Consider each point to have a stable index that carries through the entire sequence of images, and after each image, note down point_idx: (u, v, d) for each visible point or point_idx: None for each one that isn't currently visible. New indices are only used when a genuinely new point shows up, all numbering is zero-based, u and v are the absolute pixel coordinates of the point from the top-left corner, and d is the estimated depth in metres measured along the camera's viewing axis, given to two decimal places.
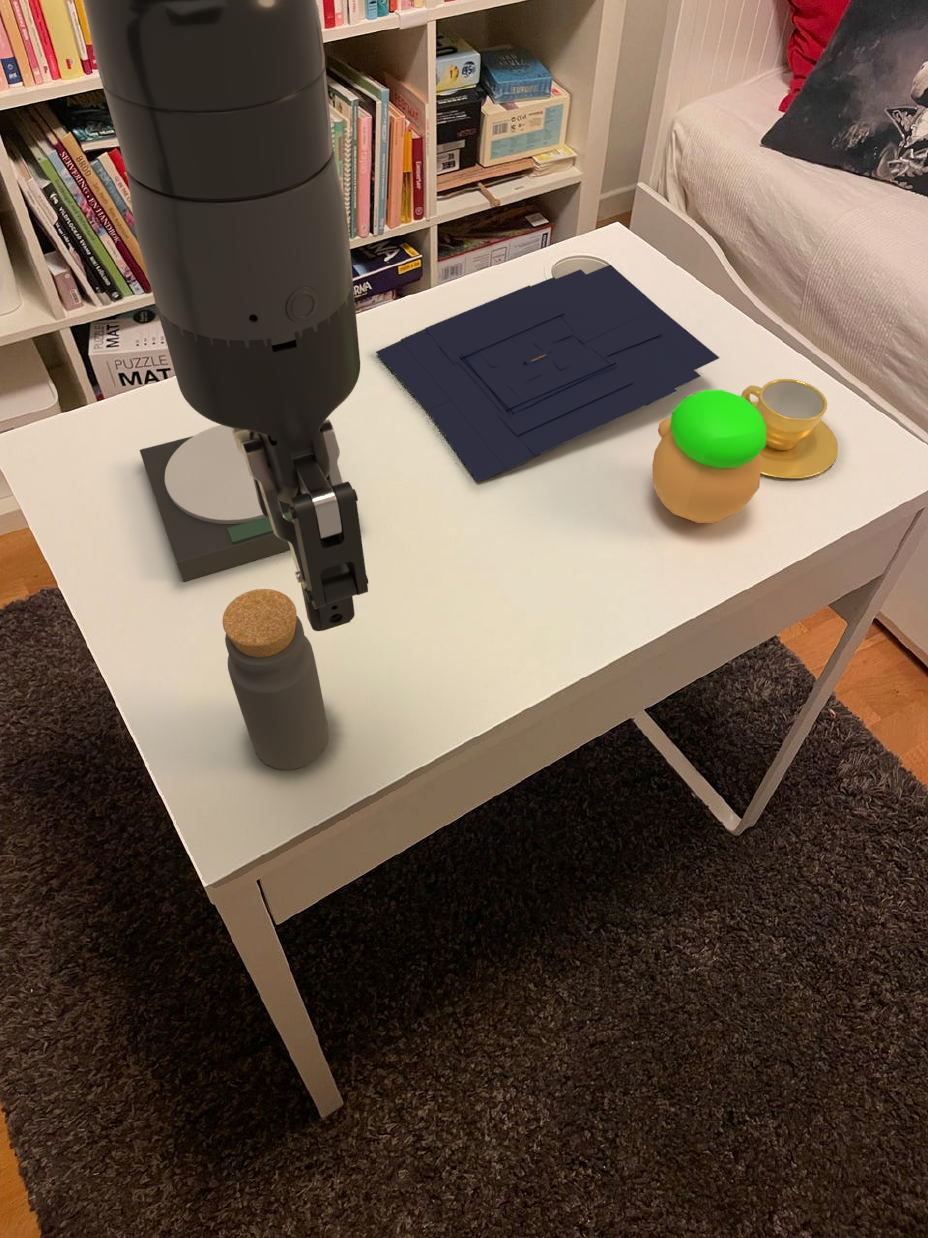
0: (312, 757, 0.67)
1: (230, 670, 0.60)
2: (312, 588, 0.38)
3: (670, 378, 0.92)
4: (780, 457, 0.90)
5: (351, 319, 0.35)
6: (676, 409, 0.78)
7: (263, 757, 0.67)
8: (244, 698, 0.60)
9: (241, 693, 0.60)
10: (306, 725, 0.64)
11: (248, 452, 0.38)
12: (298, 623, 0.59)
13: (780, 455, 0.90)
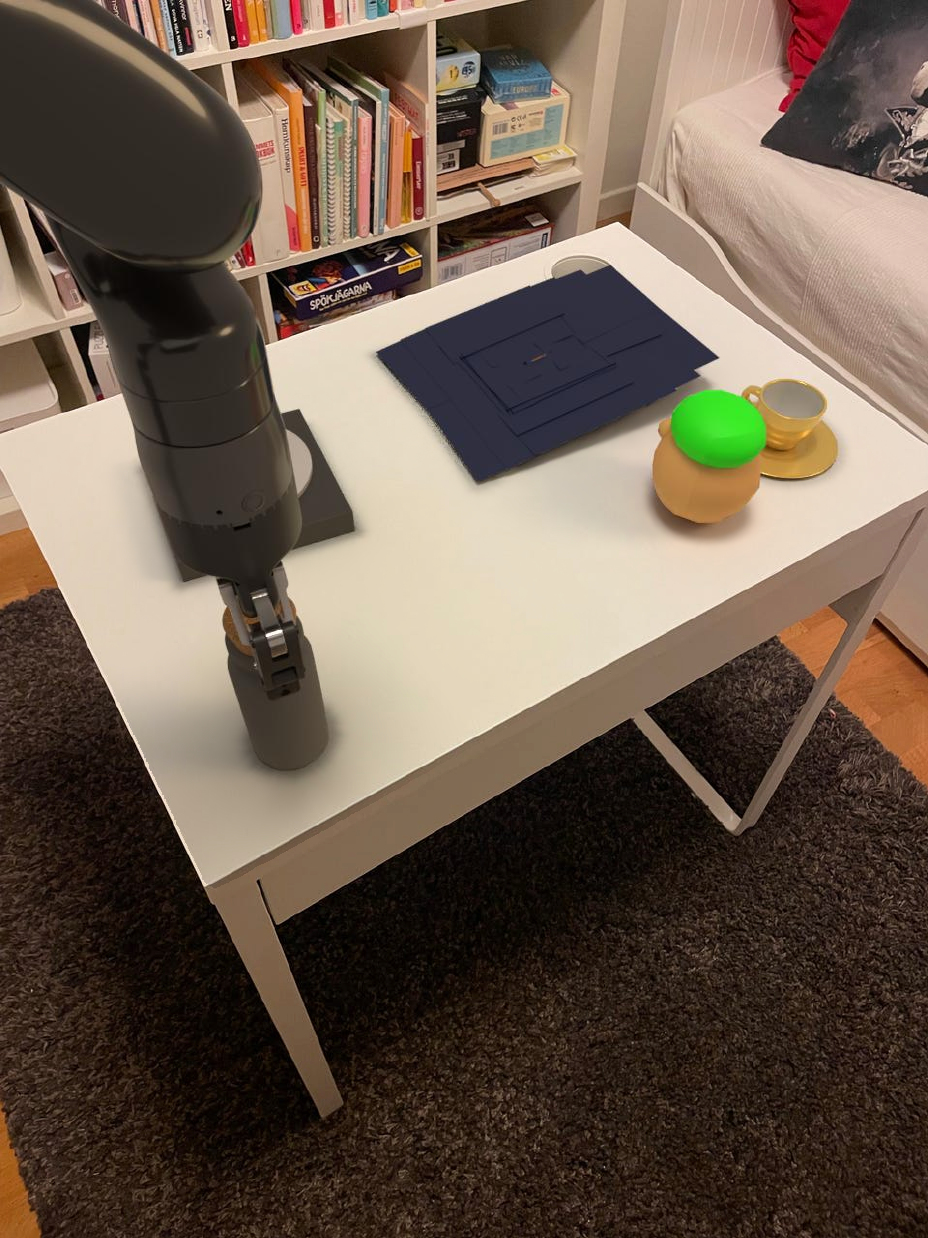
0: (312, 757, 0.67)
1: (230, 670, 0.60)
2: (264, 682, 0.52)
3: (670, 378, 0.92)
4: (780, 457, 0.90)
5: (292, 499, 0.48)
6: (676, 409, 0.78)
7: (263, 757, 0.67)
8: (243, 698, 0.60)
9: (241, 693, 0.60)
10: (305, 725, 0.64)
11: (221, 588, 0.51)
12: (298, 622, 0.59)
13: (780, 455, 0.90)
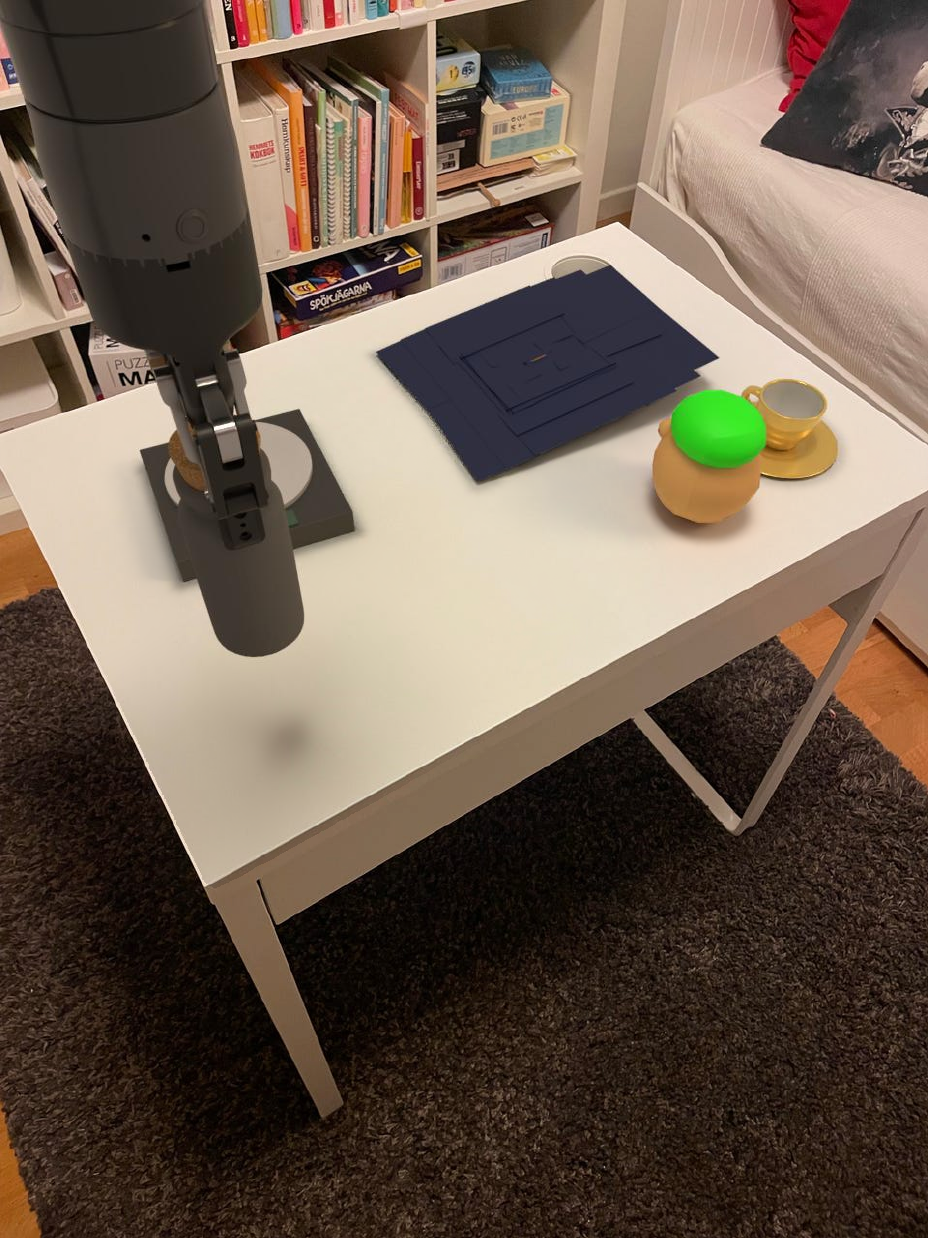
0: (284, 642, 0.56)
1: (180, 517, 0.49)
2: (215, 503, 0.41)
3: (670, 378, 0.92)
4: (780, 457, 0.90)
5: (247, 246, 0.37)
6: (676, 409, 0.78)
7: (225, 641, 0.55)
8: (197, 553, 0.49)
9: (194, 546, 0.49)
10: (275, 596, 0.52)
11: (159, 379, 0.40)
12: (263, 456, 0.48)
13: (780, 455, 0.90)
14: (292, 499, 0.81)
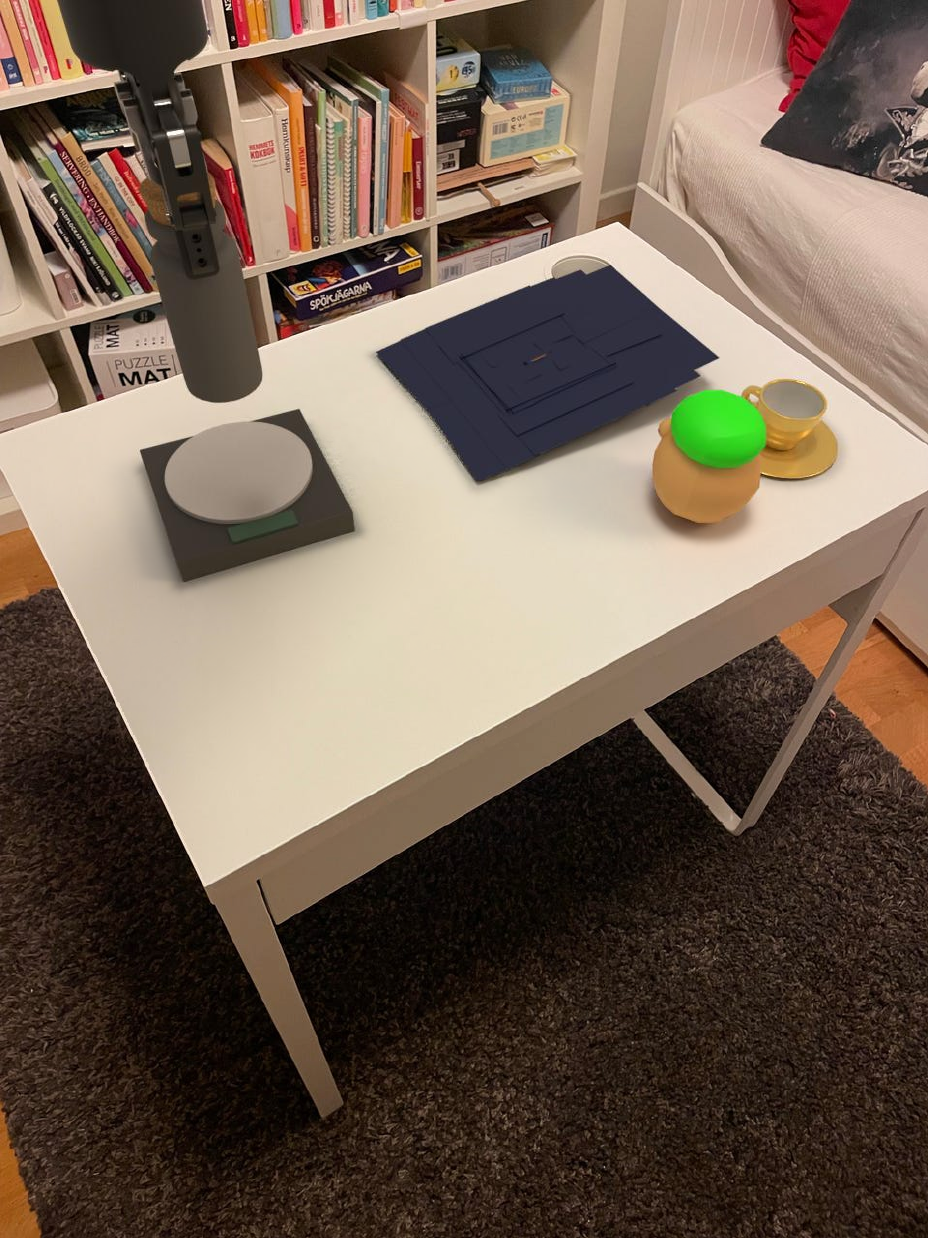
0: (243, 390, 0.66)
1: (151, 257, 0.59)
2: (172, 211, 0.52)
3: (670, 378, 0.92)
4: (780, 457, 0.90)
5: None
6: (676, 409, 0.78)
7: (194, 387, 0.66)
8: (166, 289, 0.60)
9: (163, 282, 0.59)
10: (233, 338, 0.63)
11: (126, 107, 0.51)
12: (219, 205, 0.58)
13: (780, 455, 0.90)
14: (292, 499, 0.81)
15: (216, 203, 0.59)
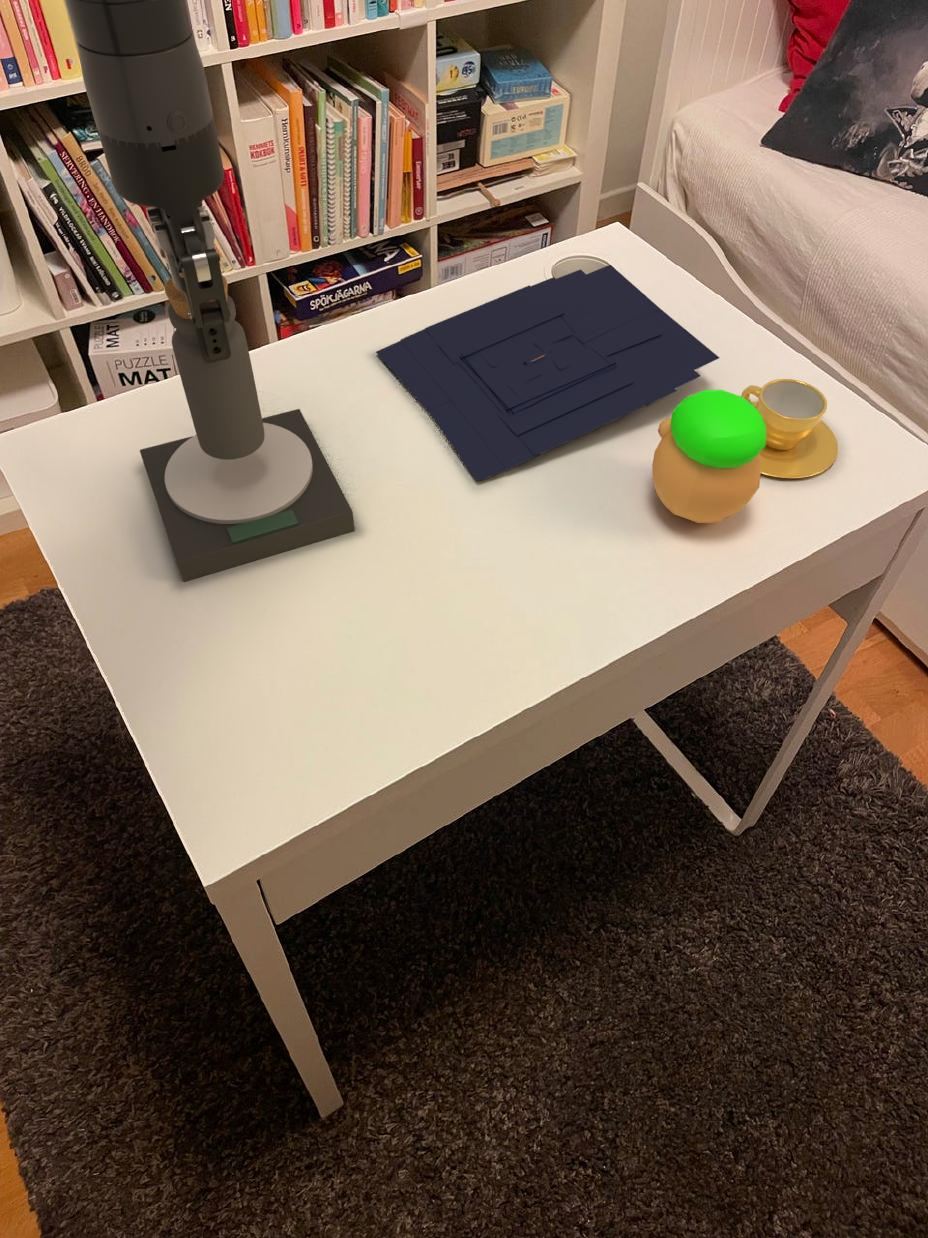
0: (249, 448, 0.78)
1: (173, 343, 0.71)
2: (194, 314, 0.63)
3: (670, 378, 0.92)
4: (780, 457, 0.90)
5: (212, 140, 0.59)
6: (676, 409, 0.78)
7: (206, 446, 0.77)
8: (185, 369, 0.71)
9: (183, 363, 0.71)
10: (240, 407, 0.74)
11: (157, 231, 0.62)
12: (230, 300, 0.70)
13: (780, 455, 0.90)
14: (292, 499, 0.81)
15: (228, 298, 0.70)
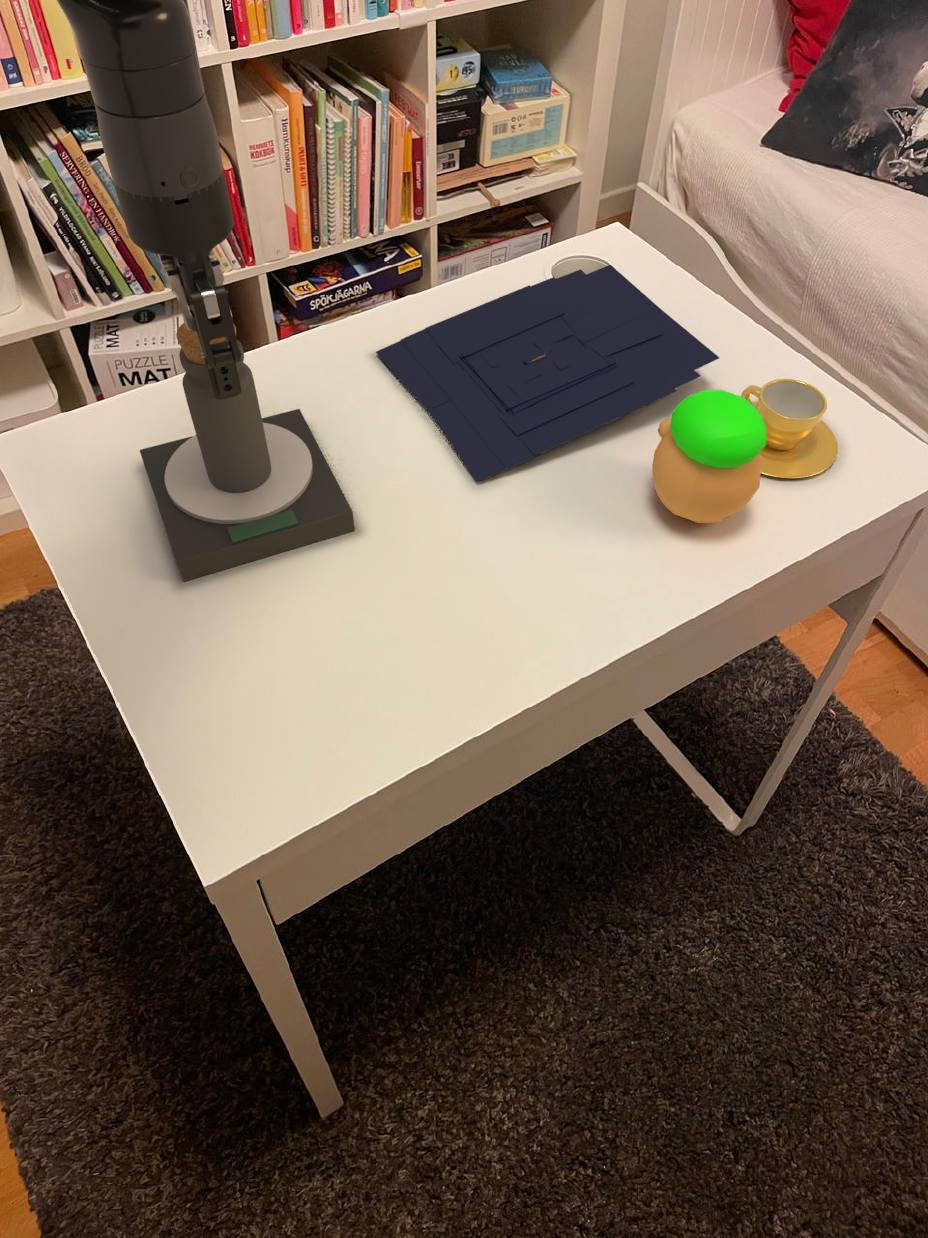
0: (256, 482, 0.81)
1: (184, 385, 0.74)
2: (206, 352, 0.65)
3: (670, 378, 0.92)
4: (780, 457, 0.90)
5: (222, 191, 0.62)
6: (676, 409, 0.78)
7: (215, 480, 0.81)
8: (195, 410, 0.74)
9: (193, 404, 0.74)
10: (248, 444, 0.78)
11: (169, 274, 0.65)
12: (239, 344, 0.73)
13: (780, 455, 0.90)
14: (292, 499, 0.81)
15: None
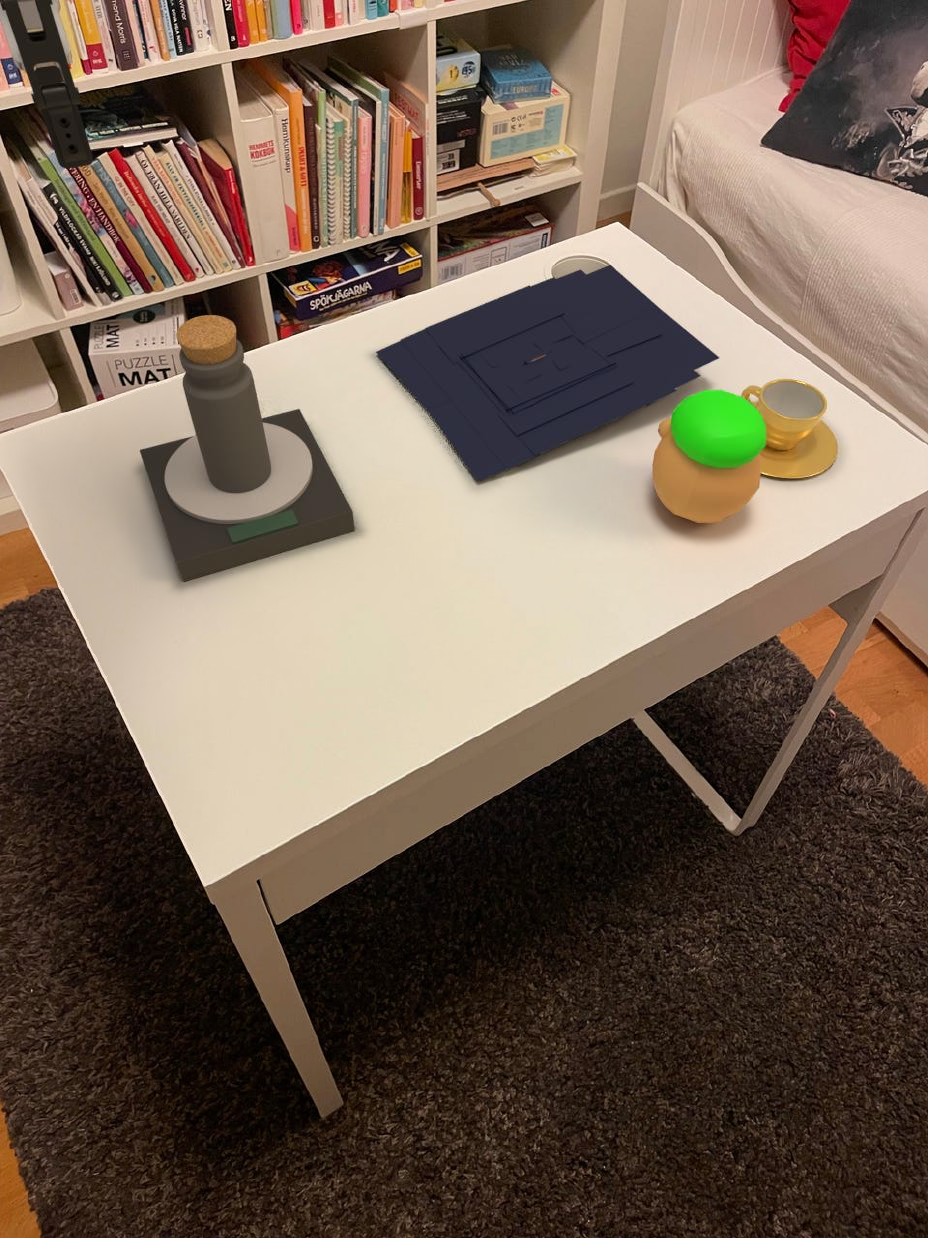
0: (256, 482, 0.81)
1: (184, 385, 0.74)
2: (30, 83, 0.52)
3: (670, 378, 0.92)
4: (780, 457, 0.90)
5: None
6: (676, 409, 0.78)
7: (215, 480, 0.81)
8: (195, 410, 0.74)
9: (193, 404, 0.74)
10: (248, 444, 0.78)
11: None
12: (239, 344, 0.73)
13: (780, 455, 0.90)
14: (292, 499, 0.81)
15: (236, 342, 0.73)
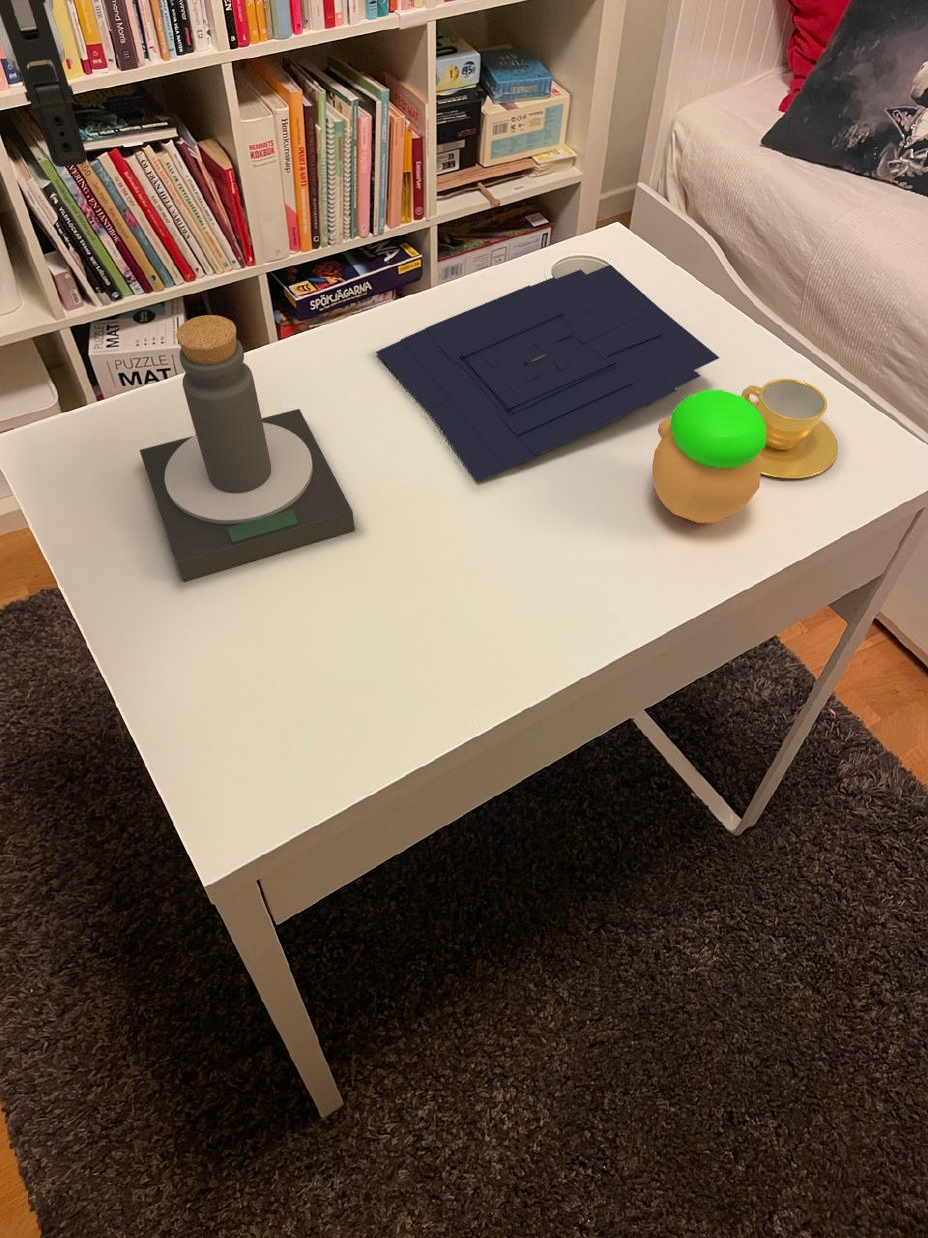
0: (256, 482, 0.81)
1: (184, 385, 0.74)
2: (24, 81, 0.52)
3: (670, 378, 0.92)
4: (780, 457, 0.90)
5: None
6: (676, 409, 0.78)
7: (215, 480, 0.81)
8: (195, 410, 0.74)
9: (193, 404, 0.74)
10: (248, 444, 0.78)
11: None
12: (239, 344, 0.73)
13: (780, 455, 0.90)
14: (292, 499, 0.81)
15: (236, 342, 0.73)
